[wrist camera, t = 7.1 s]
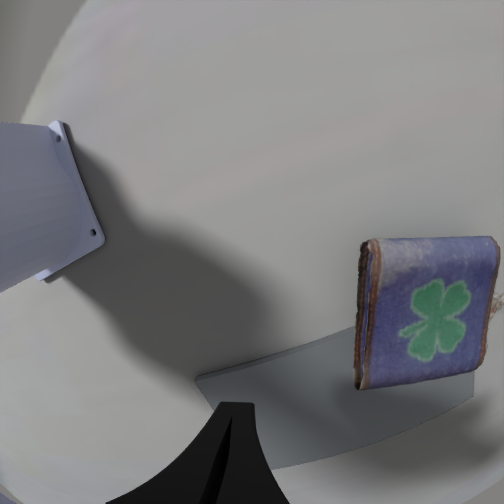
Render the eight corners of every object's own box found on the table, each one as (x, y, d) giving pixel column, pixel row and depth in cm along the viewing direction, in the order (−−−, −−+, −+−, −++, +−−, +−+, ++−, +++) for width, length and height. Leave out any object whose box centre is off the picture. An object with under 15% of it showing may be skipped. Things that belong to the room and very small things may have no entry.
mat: (196, 376, 20) (194, 381, 20) (465, 275, 17) (469, 277, 16) (260, 467, 23) (260, 471, 22) (470, 392, 19) (473, 396, 18)
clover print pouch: (370, 242, 14) (521, 237, 13) (355, 235, 17) (495, 231, 16) (358, 401, 15) (497, 371, 14) (349, 375, 18) (477, 353, 17)
